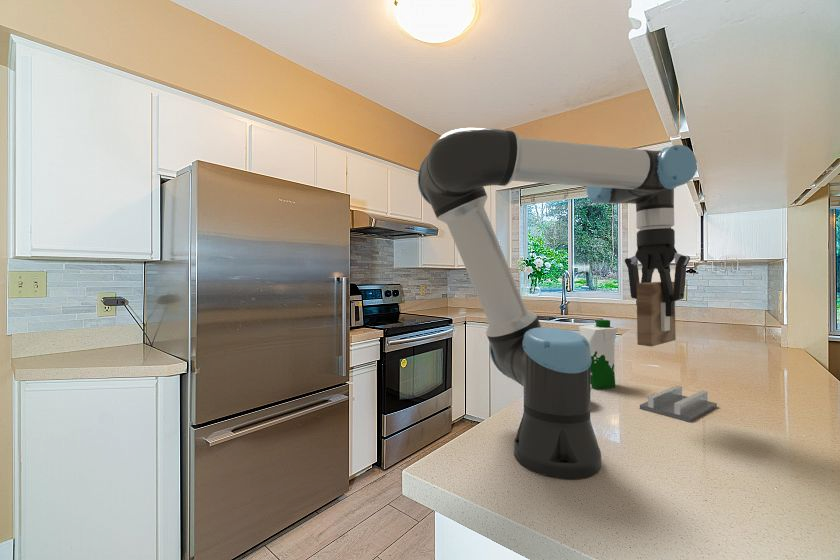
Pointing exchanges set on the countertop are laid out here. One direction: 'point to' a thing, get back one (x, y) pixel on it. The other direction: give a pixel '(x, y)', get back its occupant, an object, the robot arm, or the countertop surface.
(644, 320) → the door panel
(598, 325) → the milk carton
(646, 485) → the countertop surface
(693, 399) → the track
